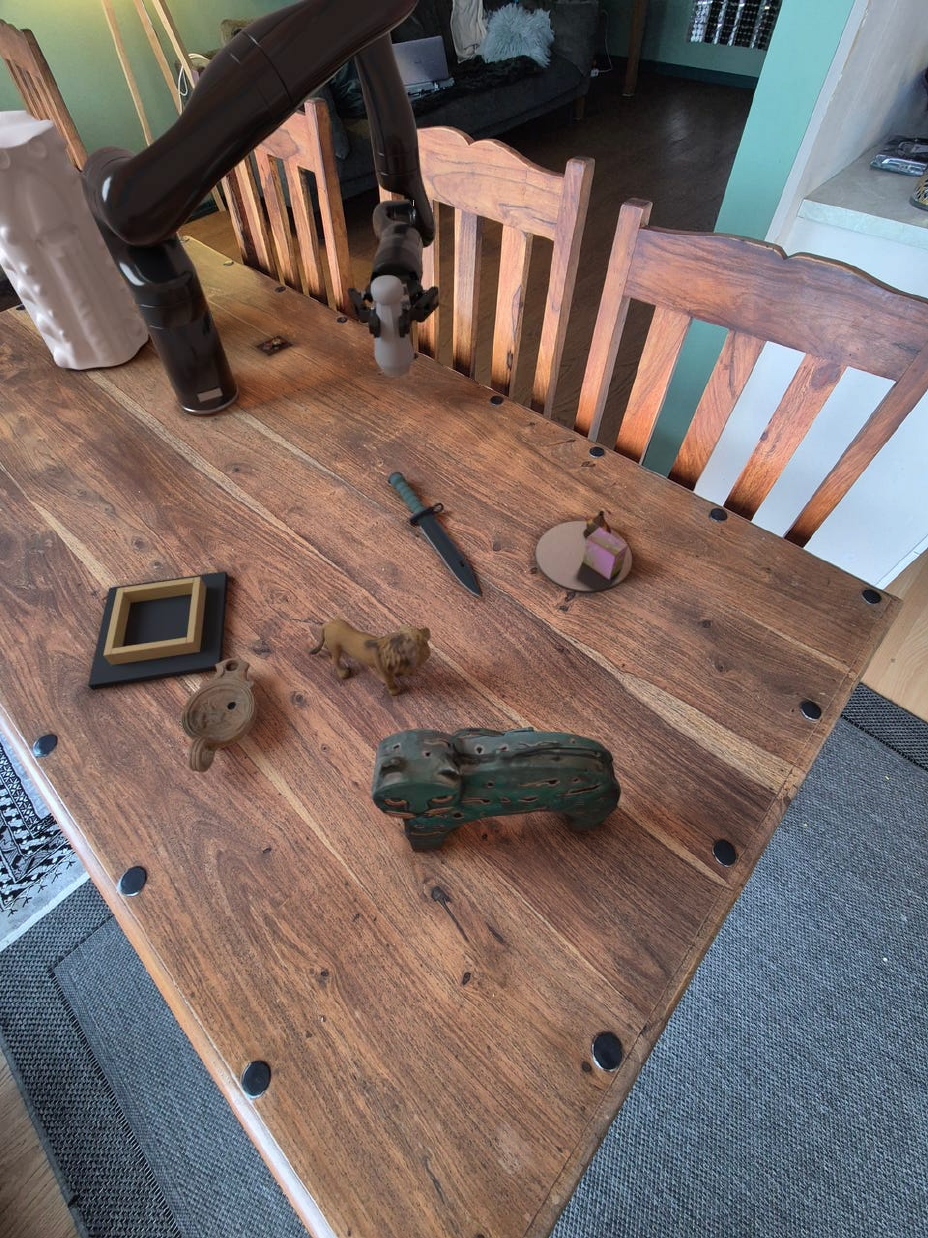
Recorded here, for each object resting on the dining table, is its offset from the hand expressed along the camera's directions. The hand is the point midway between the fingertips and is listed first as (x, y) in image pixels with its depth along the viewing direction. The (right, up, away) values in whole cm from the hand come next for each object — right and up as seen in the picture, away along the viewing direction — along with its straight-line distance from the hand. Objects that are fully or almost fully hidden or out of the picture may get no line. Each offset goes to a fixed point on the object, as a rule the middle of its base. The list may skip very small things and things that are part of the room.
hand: (388, 331), depth 87 cm
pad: (-25, -40, -12) cm, 49 cm away
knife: (+7, -28, -4) cm, 30 cm away
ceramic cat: (+14, -58, -27) cm, 66 cm away
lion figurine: (+1, -45, -16) cm, 48 cm away
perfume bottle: (+25, -31, -7) cm, 41 cm away
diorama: (-23, +8, +24) cm, 34 cm away
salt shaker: (0, -2, +8) cm, 8 cm away
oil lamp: (-15, -50, -20) cm, 56 cm away
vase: (-53, +9, +26) cm, 60 cm away
